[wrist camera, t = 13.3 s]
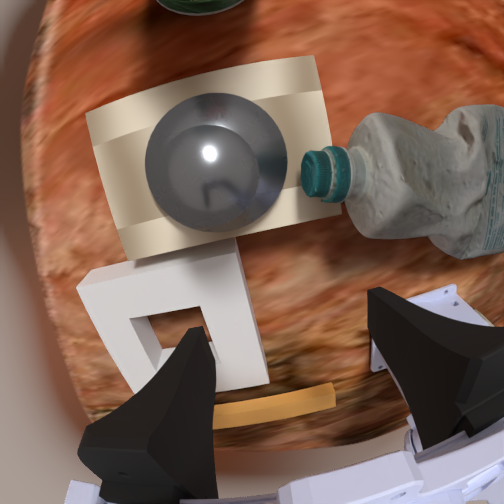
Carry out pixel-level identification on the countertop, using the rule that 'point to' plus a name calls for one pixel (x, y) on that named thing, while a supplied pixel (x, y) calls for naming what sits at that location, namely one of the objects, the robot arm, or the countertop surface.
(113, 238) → the countertop surface
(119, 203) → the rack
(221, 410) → the bar
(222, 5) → the canned tomato
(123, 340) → the socket block
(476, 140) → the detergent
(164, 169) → the glossy grey dome knob
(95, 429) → the robot arm
